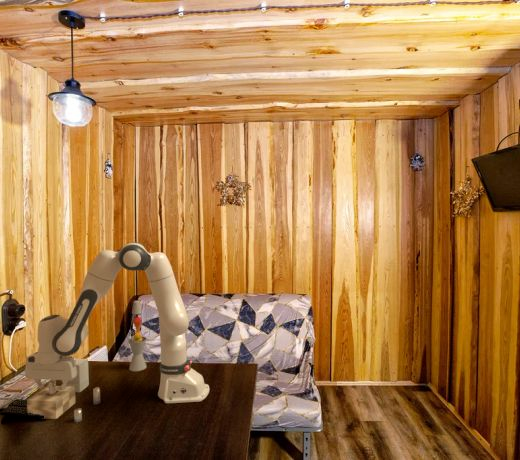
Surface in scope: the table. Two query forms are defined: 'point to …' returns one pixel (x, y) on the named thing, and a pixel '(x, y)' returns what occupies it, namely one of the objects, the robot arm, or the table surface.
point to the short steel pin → (77, 415)
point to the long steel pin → (52, 387)
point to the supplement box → (80, 376)
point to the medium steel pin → (96, 395)
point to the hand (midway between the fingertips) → (51, 389)
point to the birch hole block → (51, 402)
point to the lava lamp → (137, 341)
